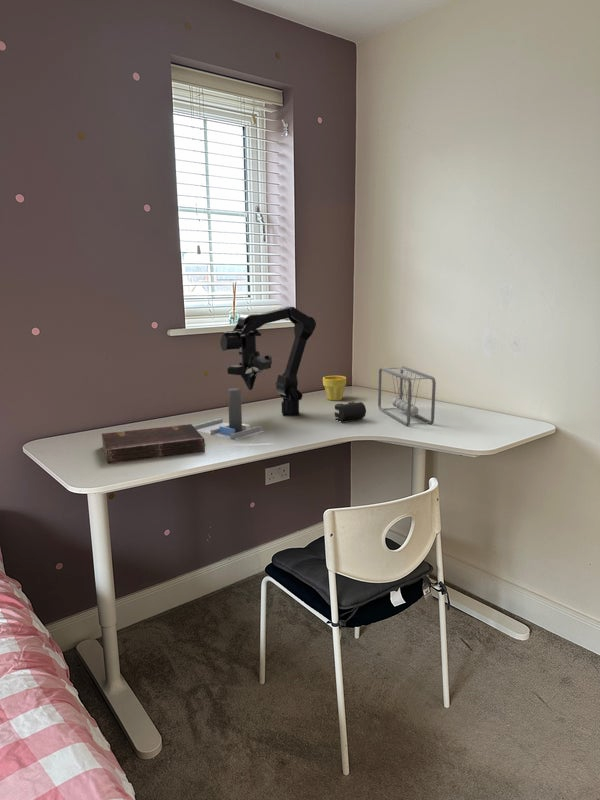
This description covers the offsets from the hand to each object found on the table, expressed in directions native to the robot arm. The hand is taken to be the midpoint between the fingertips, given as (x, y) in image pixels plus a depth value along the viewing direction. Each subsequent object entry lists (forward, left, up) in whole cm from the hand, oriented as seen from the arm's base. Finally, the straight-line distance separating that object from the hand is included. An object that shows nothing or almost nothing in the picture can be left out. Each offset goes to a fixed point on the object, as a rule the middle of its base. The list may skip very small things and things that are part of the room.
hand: (250, 389), depth 216 cm
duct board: (+8, +16, -12) cm, 22 cm away
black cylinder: (-37, +3, -12) cm, 39 cm away
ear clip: (+2, +16, -12) cm, 20 cm away
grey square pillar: (+5, +19, -11) cm, 23 cm away
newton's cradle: (-59, -1, -12) cm, 60 cm away
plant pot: (-35, -36, -12) cm, 52 cm away
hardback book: (+30, +36, -13) cm, 48 cm away
